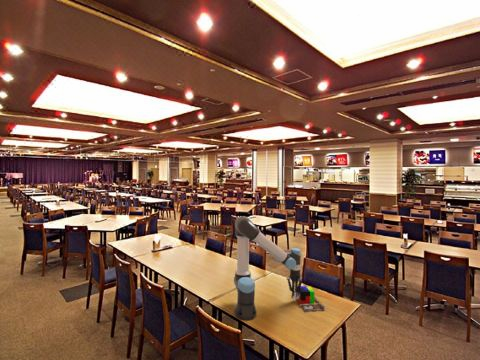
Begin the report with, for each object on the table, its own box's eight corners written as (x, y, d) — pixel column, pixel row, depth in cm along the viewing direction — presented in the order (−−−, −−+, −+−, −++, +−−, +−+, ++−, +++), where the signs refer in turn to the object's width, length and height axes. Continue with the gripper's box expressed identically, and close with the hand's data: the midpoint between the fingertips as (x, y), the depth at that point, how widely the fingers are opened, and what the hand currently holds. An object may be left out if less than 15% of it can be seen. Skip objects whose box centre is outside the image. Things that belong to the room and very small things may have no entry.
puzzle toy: (297, 299, 201) (297, 286, 201) (309, 299, 201) (310, 286, 201) (301, 305, 191) (301, 291, 191) (314, 305, 191) (314, 291, 191)
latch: (304, 311, 181) (305, 306, 181) (303, 309, 183) (303, 304, 183) (312, 310, 182) (312, 306, 182) (311, 309, 184) (311, 304, 184)
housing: (303, 313, 179) (304, 308, 179) (291, 297, 203) (291, 293, 203) (326, 312, 182) (326, 307, 182) (311, 296, 205) (311, 292, 205)
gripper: (288, 271, 190) (288, 302, 190) (305, 270, 192) (304, 301, 192) (285, 267, 198) (284, 298, 198) (301, 267, 200) (300, 297, 200)
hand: (294, 300), depth 195 cm, fingers closed
